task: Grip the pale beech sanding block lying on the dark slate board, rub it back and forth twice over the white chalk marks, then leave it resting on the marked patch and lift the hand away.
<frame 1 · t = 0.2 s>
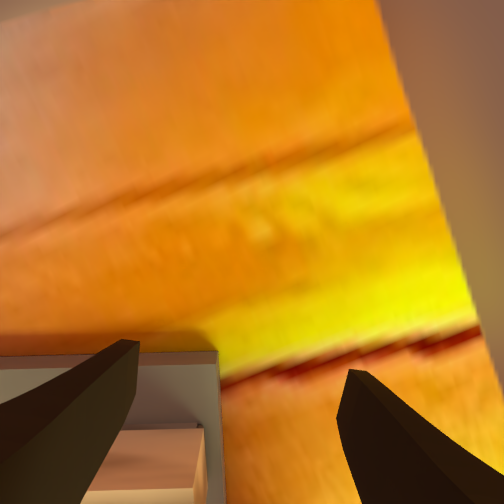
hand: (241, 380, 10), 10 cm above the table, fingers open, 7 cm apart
board: (89, 437, 23), on the table
sanding block: (156, 453, 21), point 1 cm above the table, touching board
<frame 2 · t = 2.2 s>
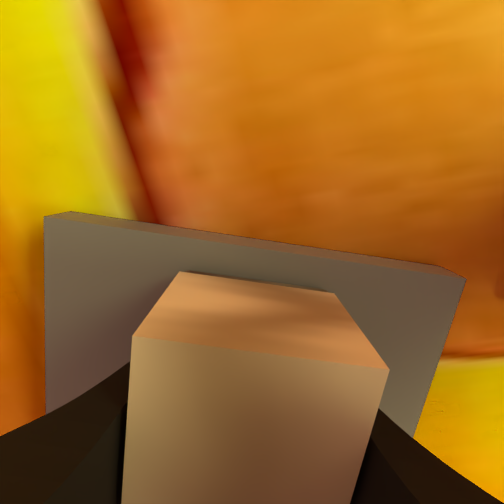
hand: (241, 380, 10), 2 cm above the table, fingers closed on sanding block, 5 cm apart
board: (225, 453, 14), on the table
sanding block: (242, 368, 11), point 1 cm above the table, touching board, gripper
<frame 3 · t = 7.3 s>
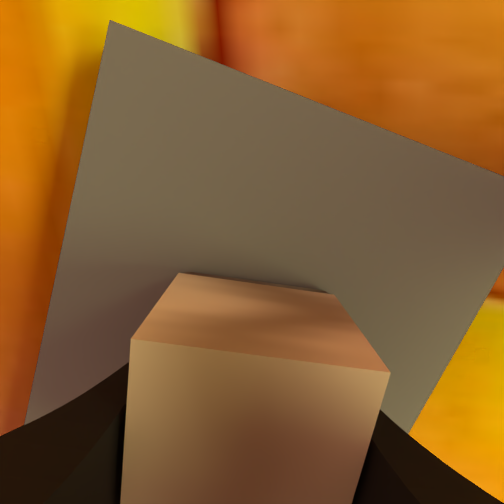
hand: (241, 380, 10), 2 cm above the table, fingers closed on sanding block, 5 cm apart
board: (236, 364, 13), on the table
sanding block: (241, 369, 11), point 2 cm above the table, touching gripper
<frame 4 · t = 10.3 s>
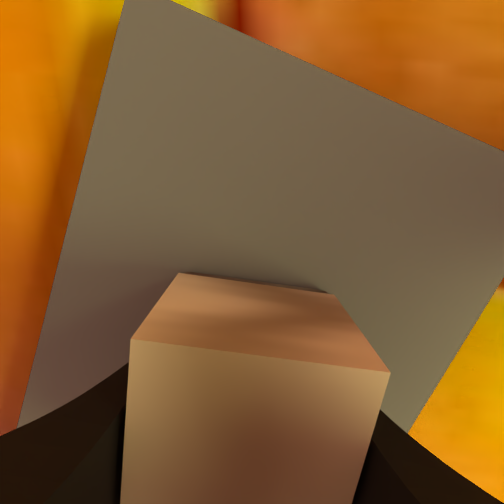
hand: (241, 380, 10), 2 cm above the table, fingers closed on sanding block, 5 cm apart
board: (241, 348, 12), on the table
sanding block: (241, 370, 11), point 2 cm above the table, touching gripper
when the fingers open (2 cm above the table, at t = 12.8 s): sanding block stays where it is, resting on board.
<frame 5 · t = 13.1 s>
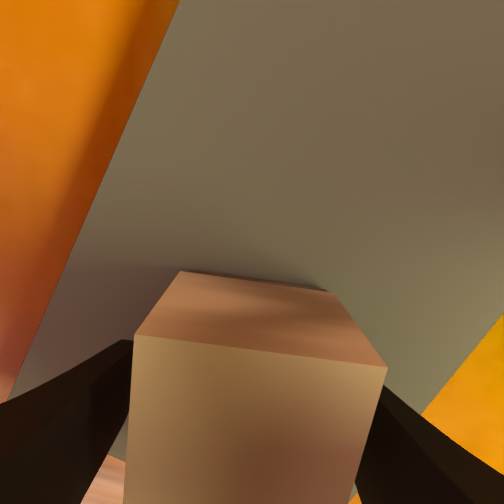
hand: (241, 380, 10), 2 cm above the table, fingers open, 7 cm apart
board: (293, 263, 12), on the table
sanding block: (242, 367, 11), point 2 cm above the table, touching board
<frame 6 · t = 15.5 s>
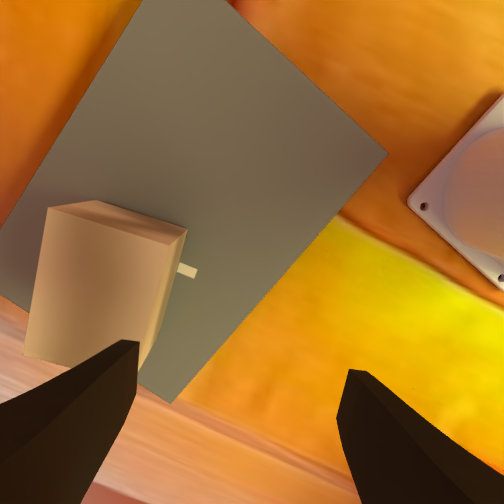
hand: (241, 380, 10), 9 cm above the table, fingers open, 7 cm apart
board: (177, 213, 18), on the table
sanding block: (131, 271, 18), point 2 cm above the table, touching board
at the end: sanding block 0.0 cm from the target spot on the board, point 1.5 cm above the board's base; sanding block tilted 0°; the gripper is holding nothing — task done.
